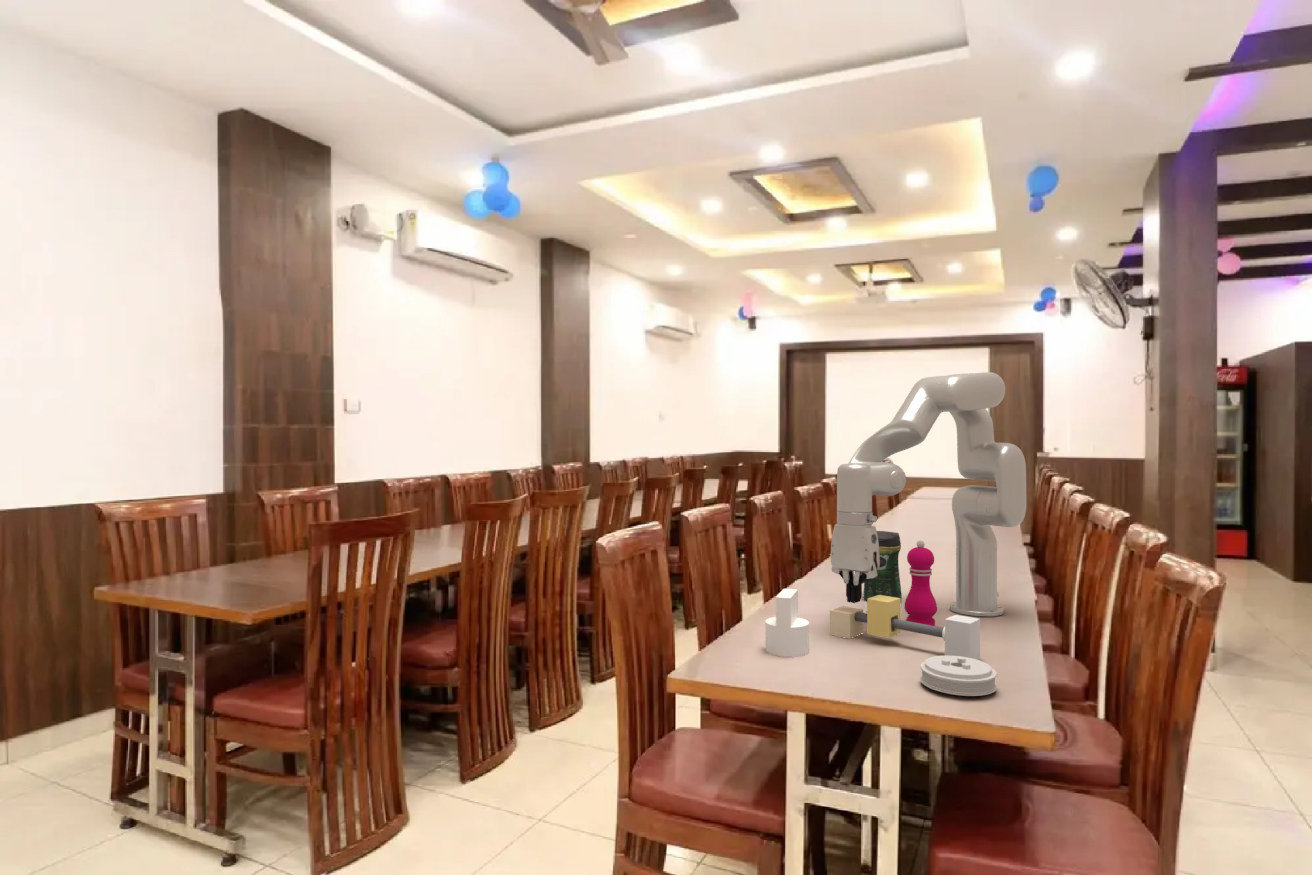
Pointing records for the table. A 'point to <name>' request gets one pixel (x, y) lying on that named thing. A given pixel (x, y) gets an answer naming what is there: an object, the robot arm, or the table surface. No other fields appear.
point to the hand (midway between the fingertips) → (853, 601)
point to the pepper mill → (920, 586)
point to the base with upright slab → (787, 627)
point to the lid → (958, 675)
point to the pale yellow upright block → (882, 615)
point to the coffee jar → (886, 568)
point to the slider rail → (916, 630)
